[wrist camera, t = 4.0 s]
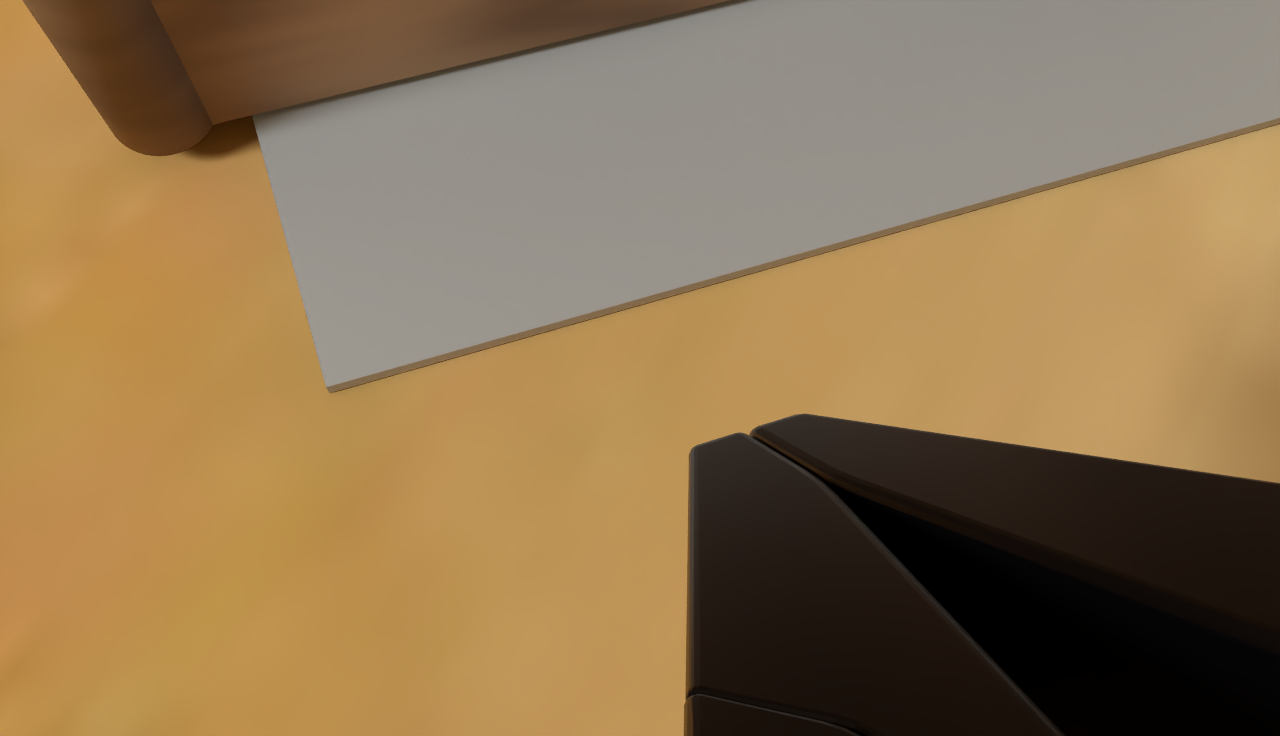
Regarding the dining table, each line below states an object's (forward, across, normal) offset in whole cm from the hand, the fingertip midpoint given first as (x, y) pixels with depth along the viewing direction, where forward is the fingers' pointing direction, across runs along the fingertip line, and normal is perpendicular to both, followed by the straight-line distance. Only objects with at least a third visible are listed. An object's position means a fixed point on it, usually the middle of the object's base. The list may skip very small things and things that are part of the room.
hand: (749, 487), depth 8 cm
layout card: (+18, +9, -1) cm, 20 cm away
